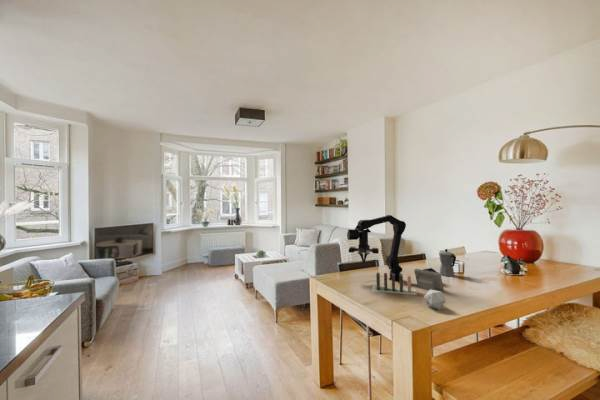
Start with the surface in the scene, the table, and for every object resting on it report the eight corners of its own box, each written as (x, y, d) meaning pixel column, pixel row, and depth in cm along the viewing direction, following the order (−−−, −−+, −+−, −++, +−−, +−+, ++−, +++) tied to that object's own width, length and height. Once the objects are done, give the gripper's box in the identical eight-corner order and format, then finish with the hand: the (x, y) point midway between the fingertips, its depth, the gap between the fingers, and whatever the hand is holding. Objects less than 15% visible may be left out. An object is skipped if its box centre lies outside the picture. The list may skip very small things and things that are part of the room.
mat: (415, 289, 160) (414, 289, 160) (416, 295, 151) (416, 294, 151) (372, 286, 168) (372, 285, 168) (371, 291, 158) (371, 290, 158)
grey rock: (423, 304, 139) (419, 292, 135) (437, 295, 140) (433, 282, 136) (435, 316, 132) (431, 303, 127) (450, 306, 132) (447, 293, 128)
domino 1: (379, 287, 164) (379, 272, 164) (379, 290, 159) (379, 274, 159) (377, 287, 165) (376, 272, 165) (376, 289, 160) (376, 274, 160)
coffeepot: (434, 272, 195) (434, 247, 196) (446, 271, 197) (445, 247, 197) (449, 278, 180) (449, 251, 180) (462, 277, 182) (461, 251, 182)
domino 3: (394, 288, 161) (394, 273, 161) (395, 291, 157) (394, 275, 157) (392, 288, 162) (391, 273, 162) (392, 291, 157) (391, 275, 157)
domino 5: (410, 290, 159) (410, 274, 159) (411, 292, 154) (410, 277, 154) (407, 289, 159) (407, 274, 159) (408, 292, 154) (407, 276, 154)
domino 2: (387, 288, 163) (387, 273, 163) (387, 290, 158) (386, 275, 158) (384, 287, 163) (384, 272, 163) (384, 290, 158) (384, 275, 158)
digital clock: (445, 291, 157) (445, 272, 157) (434, 293, 153) (434, 274, 153) (422, 283, 171) (421, 266, 171) (411, 285, 168) (411, 268, 168)
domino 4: (402, 289, 160) (402, 274, 160) (403, 292, 155) (402, 276, 155) (399, 289, 160) (399, 273, 160) (400, 291, 156) (399, 276, 156)
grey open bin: (416, 279, 184) (414, 264, 183) (438, 278, 179) (437, 264, 179) (418, 286, 171) (416, 271, 171) (442, 286, 167) (440, 270, 166)
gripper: (347, 240, 173) (347, 265, 173) (377, 241, 166) (378, 267, 166) (349, 238, 183) (350, 261, 183) (378, 239, 177) (379, 263, 177)
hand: (363, 263), depth 177 cm, fingers closed
